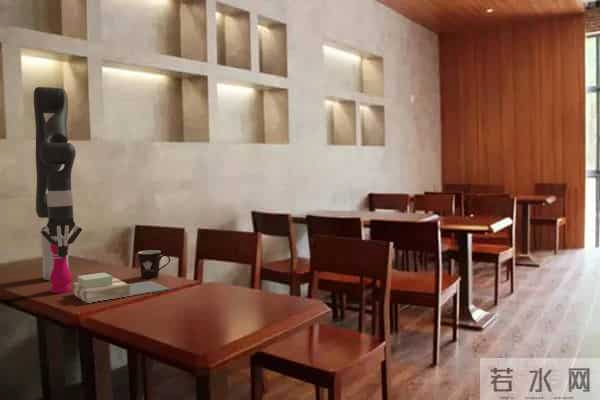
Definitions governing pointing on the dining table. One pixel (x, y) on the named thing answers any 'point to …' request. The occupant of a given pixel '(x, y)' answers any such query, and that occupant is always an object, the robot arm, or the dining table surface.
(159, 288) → the slate mat
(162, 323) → the dining table surface
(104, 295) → the block
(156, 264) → the coffee mug
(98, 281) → the green tile
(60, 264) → the pepper mill
